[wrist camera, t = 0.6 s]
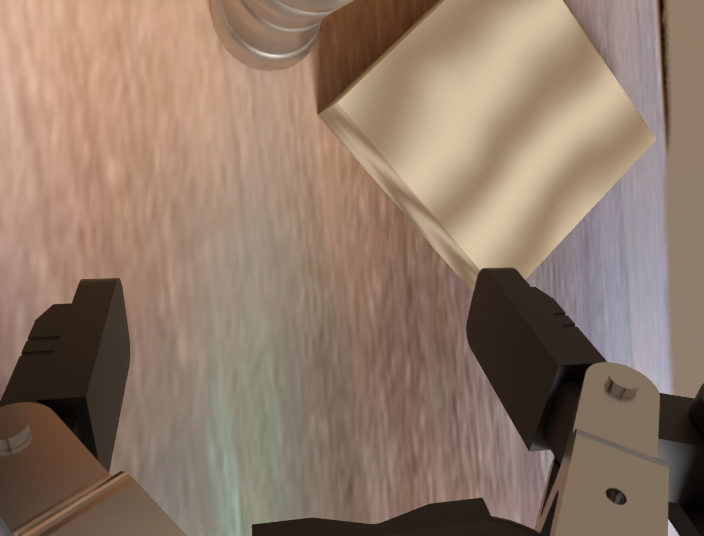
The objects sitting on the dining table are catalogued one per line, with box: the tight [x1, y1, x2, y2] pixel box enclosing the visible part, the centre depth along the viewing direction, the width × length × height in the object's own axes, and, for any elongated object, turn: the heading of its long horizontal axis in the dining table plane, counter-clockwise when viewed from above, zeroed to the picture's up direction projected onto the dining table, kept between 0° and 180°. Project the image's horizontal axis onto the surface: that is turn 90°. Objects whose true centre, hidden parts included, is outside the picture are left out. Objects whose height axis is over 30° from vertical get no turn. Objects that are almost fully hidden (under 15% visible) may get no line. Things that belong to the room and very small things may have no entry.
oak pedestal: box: [318, 0, 656, 291], centre depth 40 cm, size 17×16×5 cm
